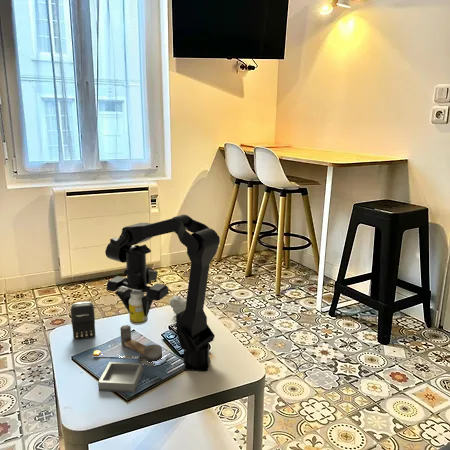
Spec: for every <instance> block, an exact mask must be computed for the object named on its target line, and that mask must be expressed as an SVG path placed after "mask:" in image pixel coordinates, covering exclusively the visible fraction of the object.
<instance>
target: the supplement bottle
mask: <svg viewBox="0 0 450 450" xmlns="http://www.w3.org/2000/svg"><path fill="white" fill-rule="evenodd" d="M144 296H145V292H141V291H136V290H133V291H131V298H130V299H129V312H128V313H129V322H130V324H131V325H133V326H134V325H135V326H141V325H145V324H146V323H147V322H148V320H149V319H148V317H149V316H148V315H147V316H145V315H144V311H143V305H142V298H143V297H144Z"/></svg>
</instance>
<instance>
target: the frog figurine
mask: <svg viewBox="0 0 450 450" xmlns="http://www.w3.org/2000/svg"><path fill="white" fill-rule="evenodd" d="M186 300H187V298H183V297H181V296H179V295H173V296H172V298H170V299H168V302H169V306H170V307H171V308H172V311H173V313H174V314H175V315H176V316H177V314H178V313H180V312H182V311H184V310H185V308H186Z"/></svg>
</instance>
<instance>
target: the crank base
mask: <svg viewBox="0 0 450 450" xmlns="http://www.w3.org/2000/svg"><path fill="white" fill-rule="evenodd" d="M100 354H101V350H94V351H93V354H92V355H93V356H99V355H100ZM101 355H102V354H101ZM118 355H119V356H120V354H118ZM137 356H138V355H124V356H123V357H124V358H123V357H122V356H120V357H121V358H120V357H119V358H118V359H125V358H135V357H136V358H137ZM139 356H140V357H138V358H139V359H138V358H137V359H136V360H138V361H139V363H140V362H141V363H143V364H144V365H143V366H145V365H146V366H145V367H150V366H153V367H155V366H154V365H155V363H154V364H153V362H152V361H148V362H147V360H146V359H145V358H144V355H143V354H140V355H139ZM149 362H150V363H149ZM151 362H152V363H151Z"/></svg>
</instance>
